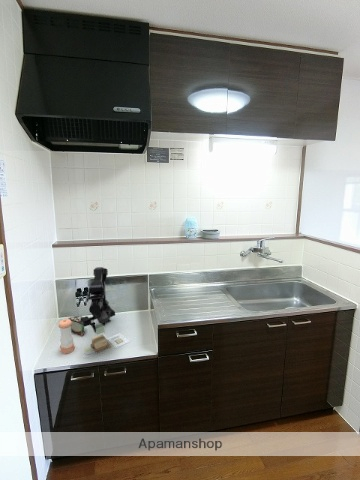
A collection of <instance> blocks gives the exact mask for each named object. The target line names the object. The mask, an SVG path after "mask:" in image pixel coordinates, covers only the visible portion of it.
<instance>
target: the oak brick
mask: <svg viewBox="0 0 360 480" xmlns="http://www.w3.org/2000/svg"><path fill="white" fill-rule="evenodd" d="M107 342H108V340H107V337H106V336H104V335H103V333H101V334H98V335H97V336H94V337H92V338H91V344H93V346H94V347H95V348H96V349H98V348H100V347H103V346H105V345H107Z"/></svg>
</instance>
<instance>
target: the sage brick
mask: <svg viewBox="0 0 360 480" xmlns="http://www.w3.org/2000/svg"><path fill="white" fill-rule="evenodd" d="M95 328H96V332H94V334H95V335H97V336H99V335H101V334H103V333H105V326H104V325H103V324H102V323H101V324H100V323H99V322H98V323H96V324H95Z"/></svg>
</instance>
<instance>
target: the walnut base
mask: <svg viewBox="0 0 360 480" xmlns="http://www.w3.org/2000/svg"><path fill="white" fill-rule="evenodd" d="M110 347H111V343H110V342H109V341H107V345H105V346H103V347H100V348H98V349H96V348H95V347H94V346H93V344H92V343H90V348H91V349H92V350H93V352H95V353H96V354H99V353H101V352H102V351H105V350H107V349H109V348H110Z"/></svg>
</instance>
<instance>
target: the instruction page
mask: <svg viewBox="0 0 360 480" xmlns="http://www.w3.org/2000/svg"><path fill="white" fill-rule="evenodd" d="M106 339H107V342H108V343H109V344H110V345H112V346H113V347H114V348H117V349H118V348H119V347H121V346H123V345H125V344H128V343H130V340H128V339H127V338H126V337H125V336H124V335H123V334H121V333H120V332H119V333H116V334H114V335H112V336H110V337H106Z"/></svg>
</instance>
